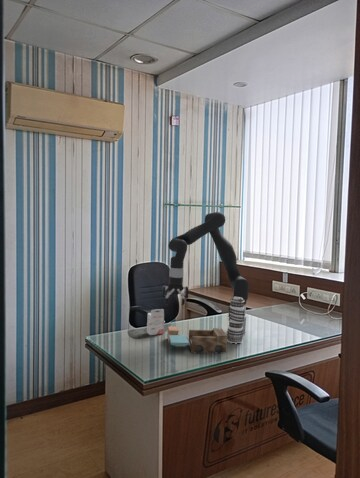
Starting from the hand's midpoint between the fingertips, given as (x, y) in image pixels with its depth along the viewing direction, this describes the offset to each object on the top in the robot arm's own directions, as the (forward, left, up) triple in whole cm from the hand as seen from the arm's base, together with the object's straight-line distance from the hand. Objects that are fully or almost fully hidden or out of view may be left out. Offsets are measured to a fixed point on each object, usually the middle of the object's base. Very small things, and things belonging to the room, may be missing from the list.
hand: (174, 305), depth 219 cm
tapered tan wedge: (0, 0, -20) cm, 20 cm away
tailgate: (-7, +11, -16) cm, 21 cm away
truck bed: (-17, +11, -20) cm, 28 cm away
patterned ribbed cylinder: (-35, 0, -20) cm, 40 cm away
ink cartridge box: (+9, -12, -20) cm, 25 cm away
